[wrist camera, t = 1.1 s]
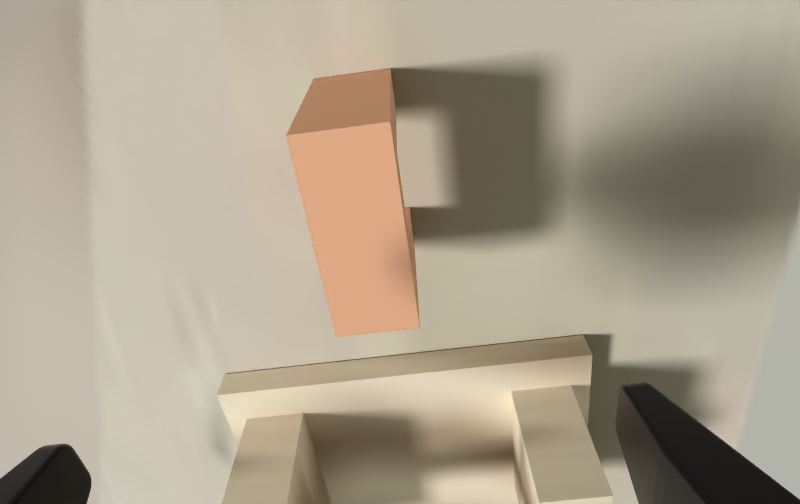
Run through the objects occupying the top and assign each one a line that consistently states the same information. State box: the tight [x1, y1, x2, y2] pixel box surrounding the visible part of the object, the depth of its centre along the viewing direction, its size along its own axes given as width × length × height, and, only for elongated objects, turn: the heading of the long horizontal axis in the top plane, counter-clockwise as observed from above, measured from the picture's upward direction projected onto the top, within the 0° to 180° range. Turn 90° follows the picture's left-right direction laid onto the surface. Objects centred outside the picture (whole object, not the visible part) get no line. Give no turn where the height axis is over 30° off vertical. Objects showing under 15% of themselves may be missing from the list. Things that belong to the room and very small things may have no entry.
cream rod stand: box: [217, 335, 613, 504], centre depth 23 cm, size 9×15×6 cm, turn 97°
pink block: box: [286, 68, 420, 337], centre depth 16 cm, size 6×2×5 cm, turn 7°
